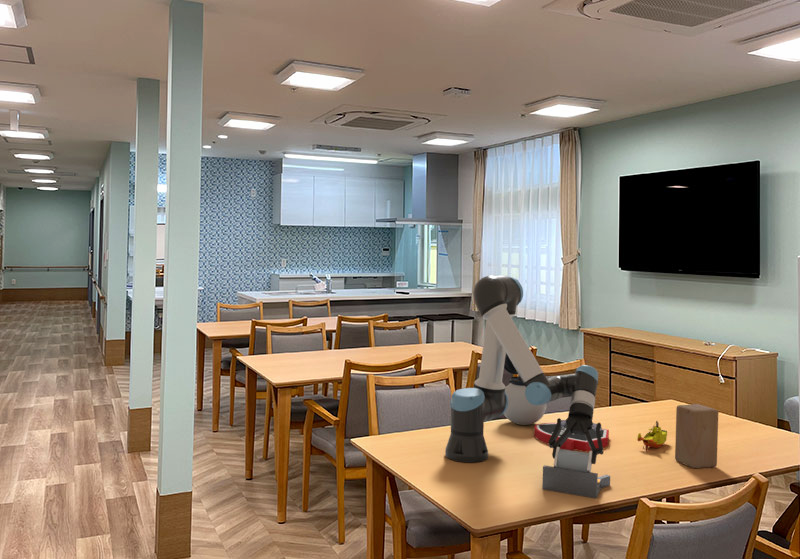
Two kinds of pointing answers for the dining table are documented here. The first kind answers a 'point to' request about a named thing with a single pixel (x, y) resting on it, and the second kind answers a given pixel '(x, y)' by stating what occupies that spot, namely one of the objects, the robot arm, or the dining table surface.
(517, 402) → the light fixture
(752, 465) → the dining table surface
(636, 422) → the dining table surface
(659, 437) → the toy submarine
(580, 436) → the emblem
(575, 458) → the panel
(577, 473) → the rack
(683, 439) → the wooden block
